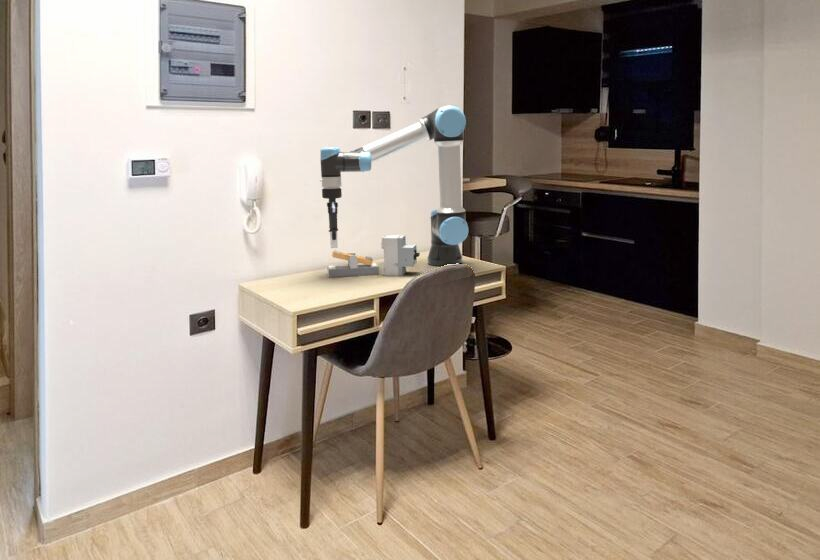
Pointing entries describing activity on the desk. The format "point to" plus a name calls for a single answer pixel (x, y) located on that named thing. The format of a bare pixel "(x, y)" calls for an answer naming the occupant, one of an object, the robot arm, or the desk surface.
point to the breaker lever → (346, 256)
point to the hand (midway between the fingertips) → (334, 247)
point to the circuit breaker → (397, 255)
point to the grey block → (352, 268)
